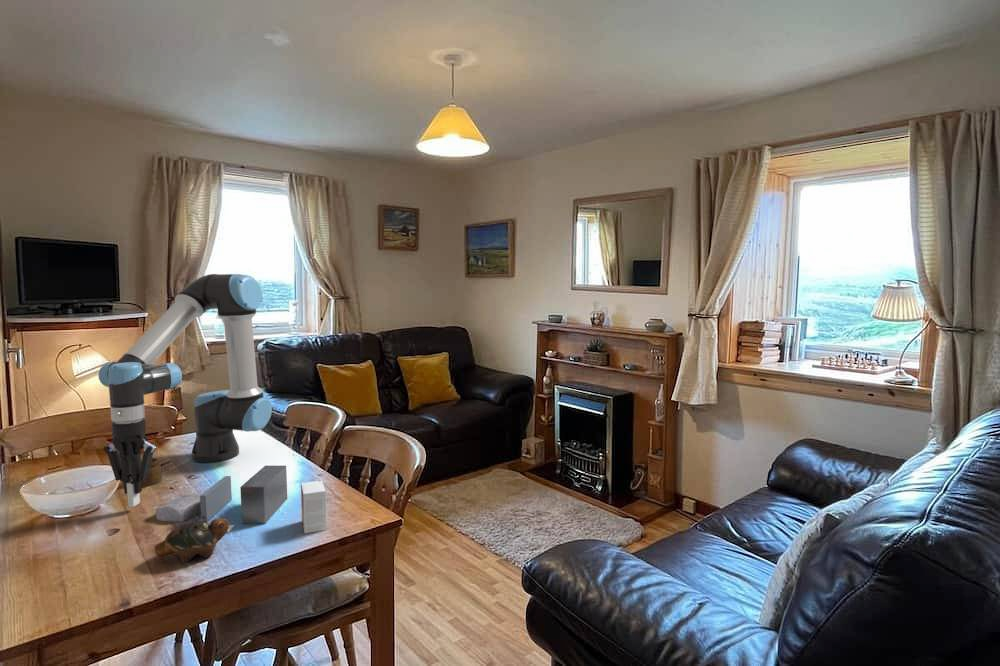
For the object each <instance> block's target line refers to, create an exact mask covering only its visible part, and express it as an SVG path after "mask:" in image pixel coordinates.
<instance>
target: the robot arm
mask: <svg viewBox="0 0 1000 666" xmlns="http://www.w3.org/2000/svg"><path fill="white" fill-rule="evenodd" d="M262 301H263V290H262V287H261V285H260V283H259V282H258V281H257V280H256V279H255V277H253V276H251V275H247V274H241V273H233V274H231V273H229V274H227V273H225V274H224V273H223V274H222V273H221V274H217V273H211V274H210V273H209V274H206V275H202V276H201V277H198V278H196V279H194V281H192V282H190V283H189V284H188V285H187V286H185V287H184V288H183V289H182V290H181V291H180V292H179V293H178V294H176V296H175V297H174V303H173V304H172V305H171V306H169V308H168V309H167V310H166V311H165V312H164V313H163V314H162V315H161V316H160V317H159V318H158V319H157V320H156V321H155V322H154V323H153V324H152V325H151V326H150V327H149V328H148V330H146V332H144V333H143V335H141V336H140V337H139V338H138V339H137V341H136V342H134V344H133V345H132V346H131V347H130V348H129V349H128V350H127V351H126V352H125V353H124V354H123V355H122V356H121V357H120V358H119V359H118V360H117V361H111V362H107V363H104V364H103V365H102V366H101V367H100V369H99V371H98V380H99V382H100V383H101V385H102V386H104V387H106V388H108V393H109V405H110V419H111V421H112V423H111V435H112V437H113V439H112V442H111V443H110V444H109V445H106V446H103V451H104V452H105V454H106V455H107V456H108V460H109V464H110V467H111V468H112V472H113V475H114V479H115V480H116V481H117V482H119V481H121V482H122V483H123V488H124V494H127V495H126V496H127V507H128V508H129V507H130V508H132V507H133V508H134V507H135V506H137V505H138V504H140V503H141V499H140V497H141V496H140V493H142V490H143V485H142V484H141V481H142V480H144V479H145V478H147V477H148V476H149V472H150V466H151V461H152V458H153V457H154V453H155V451H156V450H157V448H158V447H157V444H155V443H150V442H149V441H148V438H147V437H146V433H147V429H146V420H145V419H144V418H145V417H146V413H145V412H146V409H145V395H150V394H154V393H159V392H163V391H168V390H171V389H174V388H176V387H178V386H179V385H181V383H182V380H183V373H182V369H181V368H180V367H179V366H178V364H176V363H173V362H167V363H164V362H163V363H161V364H160V363H159V364H154V363H155V362H156V361H157V360H158V359H159V358H160V356H161V355H162V354H163V353H164V352H165V351H166V350H167V349H168V348H169V346H171V344H173V342H174V341H175V340H176V339H177V338H178V337H179V336H180V335H181V334H182V333H183V332H184V330H185V329H186V328H187V327H188V326H189V325H190V324H191V323H192V322H193V321H194V319H195V318H200V317H201V316H203V315H204V314H205V313H206V312H207V311H209V310H213V309H216V310H217V317H219V318H220V319H222V321H223V326H224V328H223V329H224V336H225V337H224V338H225V347H226V356H227V357H226V358H227V367H228V376H229V377H228V378H229V387H230V388H229V389H222V390H215V391H210V392H205V393H201V394H199V395H196V397H194V406H193V409H194V420H195V421H194V422H195V440H194V443H193V447H192V450H191V460H192V461H193V462H197V463H216V462H217V463H218V462H222V461H228V460H230V459H234V458H235V457H237V456H239V454H240V446H239V444H238V442H237V439H236V437H235V434H234V431H242V432H258V431H261V430H262V429H264V428H265V427H266V426H267V424H268V422H269V421H270V419H271V416H272V413H273V411H272V410H273V405H272V402H271V401H270V399H268V398H267V397H264V391H263V389H262V388H261V387H259V386H258V385H259V384H258V377H257V362H256V354H255V353H256V351H255V343H254V342H255V341H254V330H253V317H254V316H255V315H257V310H258V308H260V306H261V305H262V303H261V302H262ZM156 447H157V448H156ZM143 451H144V452H143ZM141 457H142V464H141Z"/></svg>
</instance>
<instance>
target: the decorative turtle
mask: <svg viewBox="0 0 1000 666" xmlns="http://www.w3.org/2000/svg"><path fill="white" fill-rule="evenodd" d="M229 523H230V522H229V521H228V520H227V519H226V518H224V517H217V518H215V519H212V521H211V522H207V521H199V520H197V521H189V522H186V523H184V524H182V525H180V526H177V527H175V528H174V529H172V530H171V531H170V532H169V533H168V534H167V535H166V537H165V539H164V540H163V541H161V542H159V543H157V544H156V545H155V546H154V551H155V554H156V555H155V556H157V557H158V558H161V557H166V556H169V555H174V554H176V555H177V556H178V557H180V560H181V561H182V562H183V563H188V562H190V561H191V560H192V559H193V558H194V557H196V556H197V555H200V556H202V558H204V559H210V558H211V557H212V556H213V553H214V550H215V548H216V546H217V544H218V542H219V541H221V540H222V538H224V536H225V535H226V533H228V532H227V530H228V528H229V525H230V524H229Z"/></svg>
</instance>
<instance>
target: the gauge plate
mask: <svg viewBox="0 0 1000 666" xmlns="http://www.w3.org/2000/svg"><path fill="white" fill-rule="evenodd" d="M200 494H201V495H200V508H201V512H200V519H199V520H198V521H203V522H208V521H209V520H210V519H211V518H213V516H215V515H216V514H217V513H218V512H220V511H221V510H223V508H224V507H225V506H226V505H227V504H228V503H230V502H231V501H233V500H232V477H231V475H224V476H223V477H222V478H221V479H220V480H218V481H217V482H216V483H214V484H213V485H212V486H211V487H209V488H208V489H207V490H205V491H204V492H203V493H200Z"/></svg>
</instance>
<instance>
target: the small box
mask: <svg viewBox="0 0 1000 666" xmlns="http://www.w3.org/2000/svg"><path fill="white" fill-rule="evenodd" d="M300 494H301V496H300V497H301V499H300V501H301V504H300V505H301V523H302V527H303V533H304V534H305V535H306V534H309V533H315V532H316V533H317V532H321V531H326V530H327V529H328V528H327V527H328V526H327V523H328V522H327V491H326V488H325V485H324V481H323V480H317V481H309V482H306V481H305V482H301V483H300Z"/></svg>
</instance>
